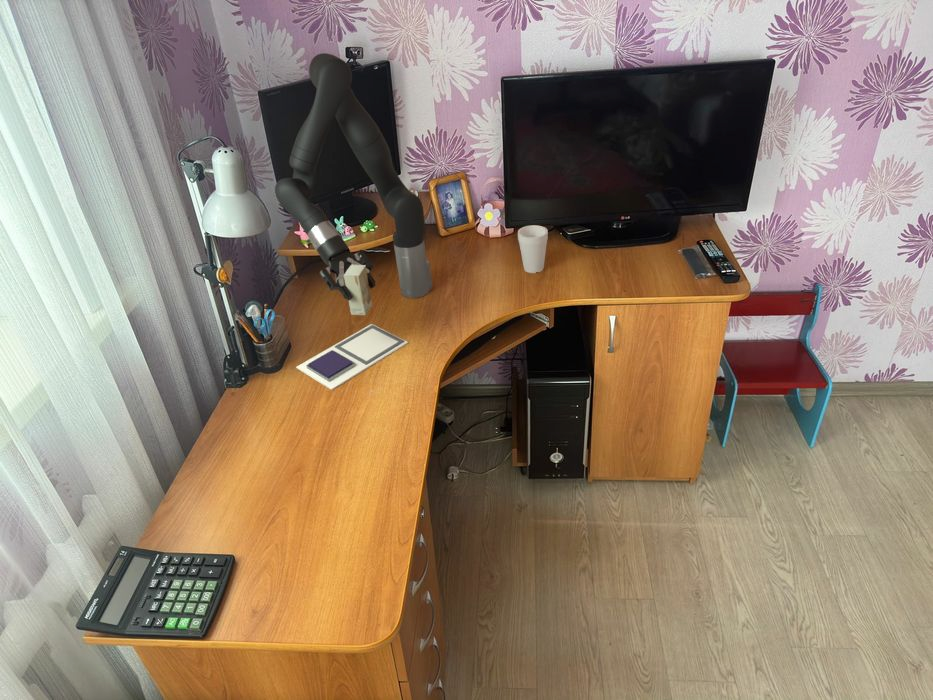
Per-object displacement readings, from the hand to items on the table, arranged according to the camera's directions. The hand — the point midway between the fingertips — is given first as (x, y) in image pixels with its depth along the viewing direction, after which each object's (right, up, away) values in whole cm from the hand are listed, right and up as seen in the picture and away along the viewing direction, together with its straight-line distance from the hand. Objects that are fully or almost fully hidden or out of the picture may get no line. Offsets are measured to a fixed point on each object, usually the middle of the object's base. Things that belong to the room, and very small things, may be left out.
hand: (362, 292), depth 187 cm
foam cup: (+50, +11, +40) cm, 65 cm away
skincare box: (-1, -4, +4) cm, 6 cm away
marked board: (-4, -17, +7) cm, 19 cm away
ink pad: (-9, -20, +3) cm, 22 cm away
